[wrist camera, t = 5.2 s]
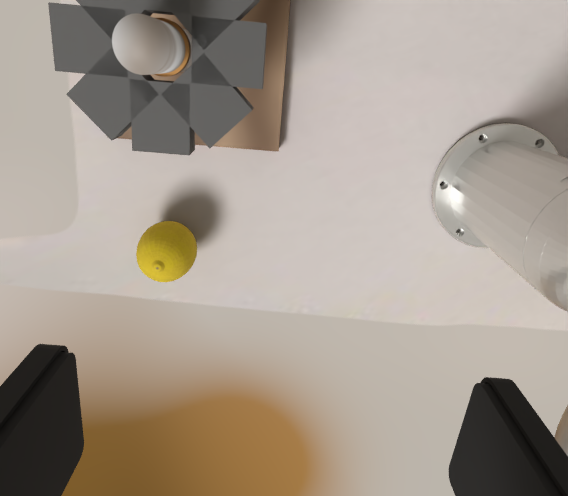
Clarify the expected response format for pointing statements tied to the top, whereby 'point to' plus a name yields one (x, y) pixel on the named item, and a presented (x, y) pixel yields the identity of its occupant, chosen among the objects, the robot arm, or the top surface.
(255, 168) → the top surface
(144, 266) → the lemon
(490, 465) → the robot arm
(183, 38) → the pipe stand
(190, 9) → the grey flat ring
